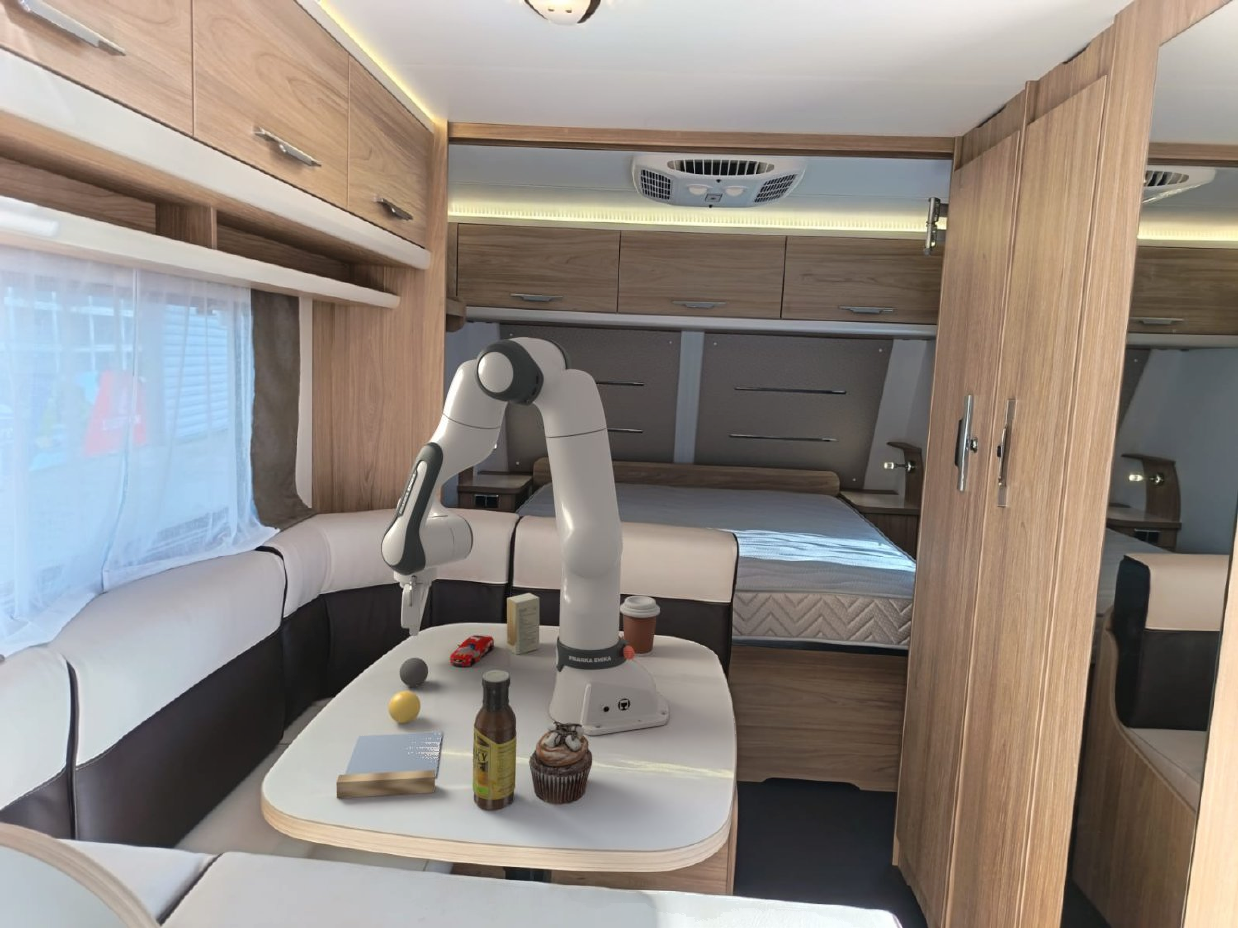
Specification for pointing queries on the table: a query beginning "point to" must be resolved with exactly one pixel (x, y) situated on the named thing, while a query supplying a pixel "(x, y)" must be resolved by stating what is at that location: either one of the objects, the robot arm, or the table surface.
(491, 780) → the sauce bottle
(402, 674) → the grey sphere
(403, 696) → the ochre ball
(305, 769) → the table surface
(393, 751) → the board
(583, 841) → the table surface
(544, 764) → the cupcake
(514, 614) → the skincare box
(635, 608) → the coffee cup
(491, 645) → the race car
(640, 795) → the table surface
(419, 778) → the rail
